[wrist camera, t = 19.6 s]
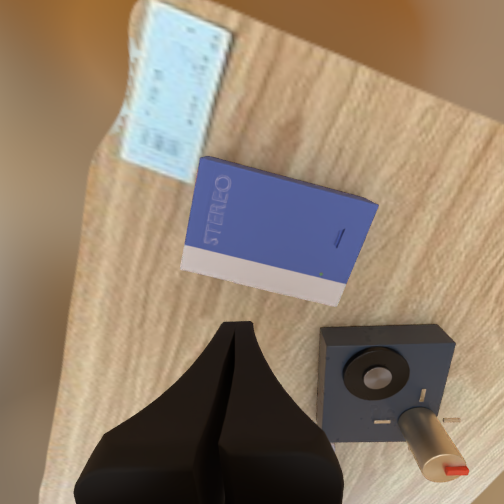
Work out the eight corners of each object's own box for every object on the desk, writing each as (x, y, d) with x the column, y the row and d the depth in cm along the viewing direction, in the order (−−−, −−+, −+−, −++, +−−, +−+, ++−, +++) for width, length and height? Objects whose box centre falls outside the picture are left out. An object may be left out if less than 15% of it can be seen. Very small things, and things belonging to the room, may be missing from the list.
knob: (395, 433, 26) (421, 487, 22) (400, 407, 24) (427, 459, 20) (432, 432, 25) (465, 486, 21) (438, 406, 24) (473, 458, 20)
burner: (402, 395, 24) (406, 402, 23) (340, 396, 24) (342, 403, 24) (411, 345, 22) (416, 351, 22) (344, 346, 22) (347, 353, 22)
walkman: (364, 197, 21) (202, 154, 20) (379, 205, 18) (194, 155, 17) (327, 290, 23) (184, 255, 23) (336, 308, 21) (174, 270, 20)
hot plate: (435, 423, 29) (451, 449, 26) (315, 425, 29) (321, 451, 26) (460, 323, 24) (483, 343, 22) (320, 327, 25) (327, 347, 22)
